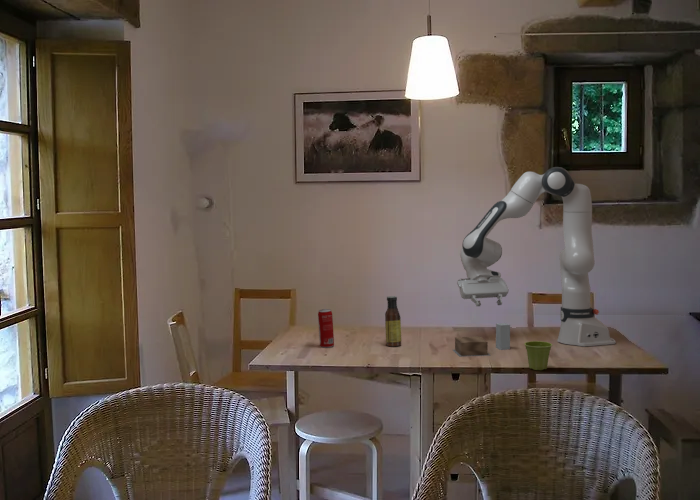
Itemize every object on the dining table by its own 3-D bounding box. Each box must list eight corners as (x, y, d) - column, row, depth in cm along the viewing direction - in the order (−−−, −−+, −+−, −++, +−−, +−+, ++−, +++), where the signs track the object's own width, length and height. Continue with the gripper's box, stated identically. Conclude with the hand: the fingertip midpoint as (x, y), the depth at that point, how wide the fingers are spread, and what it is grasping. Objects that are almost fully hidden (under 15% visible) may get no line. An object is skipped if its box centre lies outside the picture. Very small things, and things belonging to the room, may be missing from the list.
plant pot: (552, 372, 251) (553, 347, 250) (524, 371, 253) (524, 346, 252) (551, 365, 260) (551, 341, 259) (523, 364, 262) (523, 340, 261)
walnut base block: (480, 349, 286) (480, 336, 286) (487, 354, 276) (487, 341, 276) (455, 350, 285) (455, 337, 285) (461, 355, 275) (461, 342, 275)
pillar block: (505, 348, 289) (505, 323, 288) (510, 350, 285) (510, 324, 285) (495, 348, 288) (495, 323, 287) (500, 350, 284) (500, 325, 284)
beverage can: (336, 345, 298) (335, 309, 297) (329, 348, 292) (328, 311, 291) (323, 344, 301) (322, 308, 299) (316, 347, 295) (315, 310, 293)
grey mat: (482, 349, 287) (482, 348, 287) (490, 356, 275) (490, 355, 275) (451, 350, 286) (451, 349, 286) (459, 357, 274) (459, 356, 274)
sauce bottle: (404, 345, 297) (404, 296, 295) (394, 347, 292) (394, 298, 291) (392, 343, 301) (391, 295, 300) (382, 345, 297) (381, 296, 295)
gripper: (458, 274, 300) (468, 301, 291) (503, 272, 305) (514, 298, 297) (453, 283, 305) (463, 311, 296) (498, 281, 310) (509, 308, 302)
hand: (489, 304), depth 297 cm, fingers open, 8 cm apart
